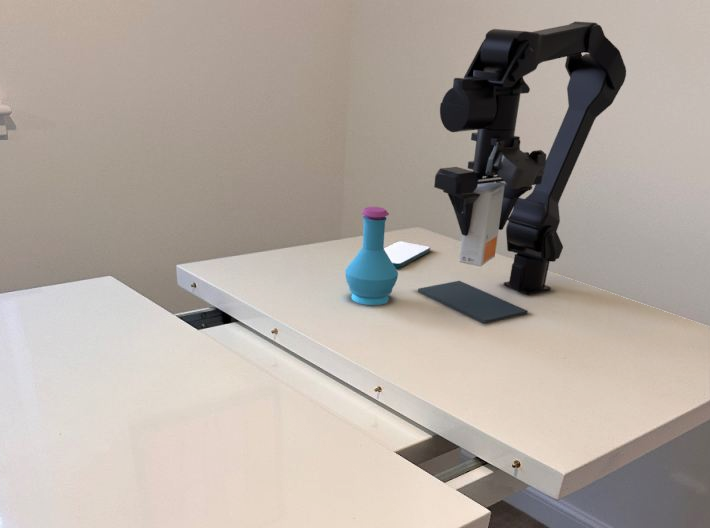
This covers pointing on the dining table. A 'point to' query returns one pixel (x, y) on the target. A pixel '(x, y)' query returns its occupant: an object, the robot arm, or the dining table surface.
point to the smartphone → (405, 252)
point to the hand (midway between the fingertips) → (482, 232)
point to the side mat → (472, 301)
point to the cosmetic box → (483, 225)
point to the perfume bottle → (372, 263)
